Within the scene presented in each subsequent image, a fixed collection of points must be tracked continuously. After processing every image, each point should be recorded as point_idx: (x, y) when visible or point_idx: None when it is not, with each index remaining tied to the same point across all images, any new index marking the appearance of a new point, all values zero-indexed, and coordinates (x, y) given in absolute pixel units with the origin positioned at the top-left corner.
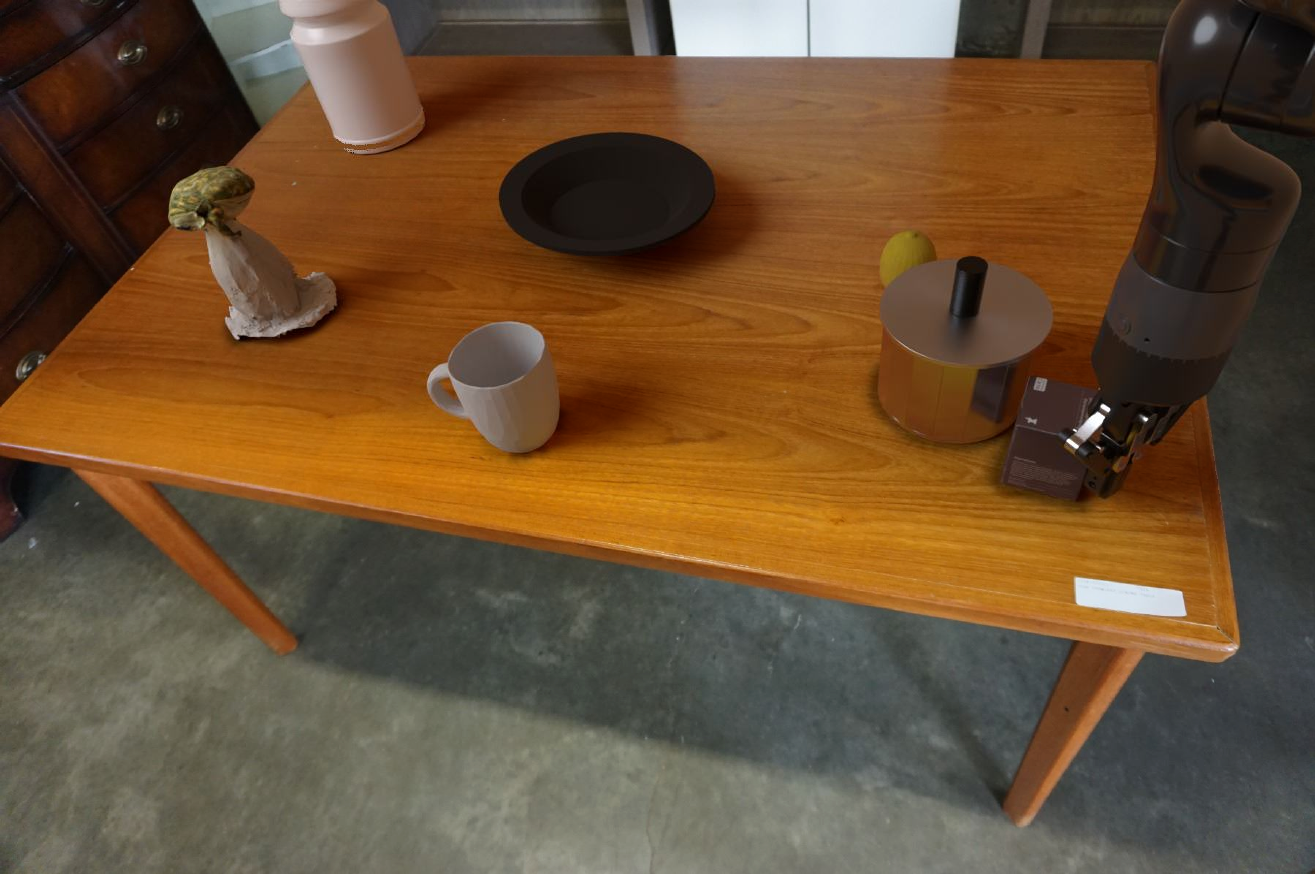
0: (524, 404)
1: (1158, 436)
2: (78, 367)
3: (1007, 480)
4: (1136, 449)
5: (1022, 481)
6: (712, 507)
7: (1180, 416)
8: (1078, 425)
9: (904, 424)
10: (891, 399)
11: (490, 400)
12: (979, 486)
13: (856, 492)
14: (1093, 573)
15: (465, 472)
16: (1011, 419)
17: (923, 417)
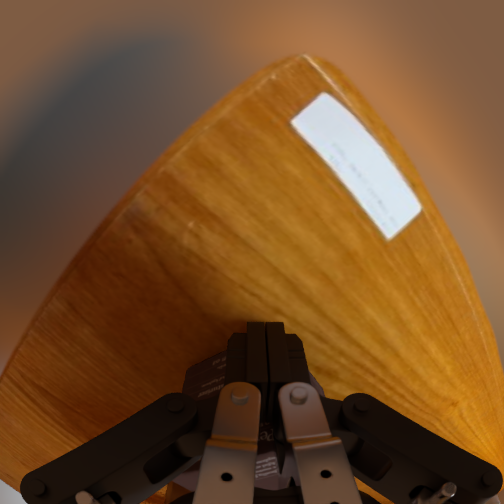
0: (489, 500)
1: (217, 450)
2: None
3: (322, 391)
4: (314, 452)
5: (316, 386)
6: (475, 431)
7: (106, 437)
8: (276, 472)
9: None
10: None
11: (499, 502)
12: (341, 393)
13: (420, 422)
14: (365, 227)
15: (492, 463)
16: None
17: None
